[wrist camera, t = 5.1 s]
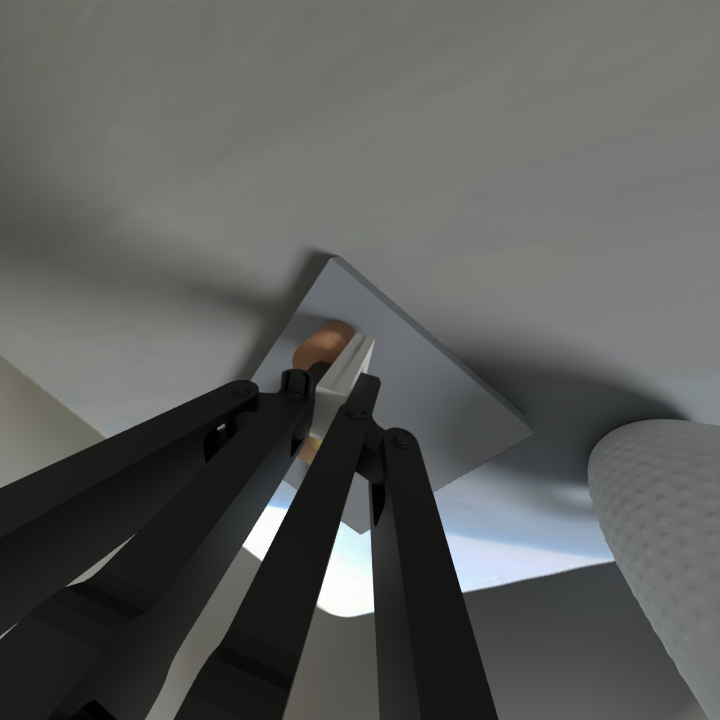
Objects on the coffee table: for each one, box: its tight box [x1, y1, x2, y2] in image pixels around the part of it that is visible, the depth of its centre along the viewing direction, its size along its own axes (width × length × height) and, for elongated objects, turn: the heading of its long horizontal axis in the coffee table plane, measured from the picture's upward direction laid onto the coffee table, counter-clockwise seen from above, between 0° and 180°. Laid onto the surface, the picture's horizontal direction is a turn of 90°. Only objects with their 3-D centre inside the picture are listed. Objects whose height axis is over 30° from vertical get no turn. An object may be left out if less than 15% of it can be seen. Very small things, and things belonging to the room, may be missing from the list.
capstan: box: [292, 321, 355, 465], centre depth 19 cm, size 17×6×4 cm, turn 172°
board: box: [218, 256, 535, 535], centre depth 22 cm, size 20×18×2 cm
